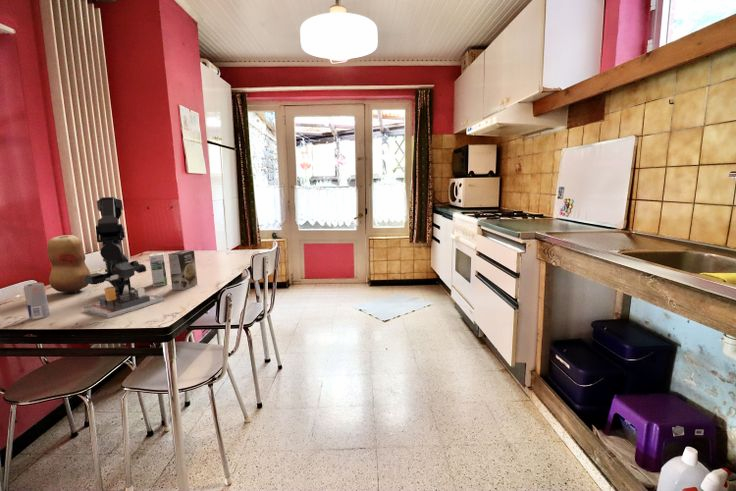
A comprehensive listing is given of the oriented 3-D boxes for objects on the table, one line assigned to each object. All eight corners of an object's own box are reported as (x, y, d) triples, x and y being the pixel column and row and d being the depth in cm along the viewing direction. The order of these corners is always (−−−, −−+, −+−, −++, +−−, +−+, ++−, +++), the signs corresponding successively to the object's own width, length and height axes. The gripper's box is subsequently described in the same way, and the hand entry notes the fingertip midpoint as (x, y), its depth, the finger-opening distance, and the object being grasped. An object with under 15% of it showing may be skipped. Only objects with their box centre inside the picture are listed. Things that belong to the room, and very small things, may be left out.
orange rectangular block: (105, 300, 130) (104, 288, 129) (113, 298, 132) (111, 286, 131) (109, 301, 129) (107, 289, 128) (116, 299, 131) (115, 287, 130)
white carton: (38, 314, 127) (31, 282, 125) (54, 313, 128) (48, 282, 125) (25, 320, 122) (18, 287, 120) (41, 319, 122) (35, 286, 120)
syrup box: (153, 286, 159) (148, 255, 157) (153, 283, 164) (149, 253, 162) (167, 284, 162) (163, 254, 159) (167, 281, 167) (164, 252, 164)
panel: (84, 311, 130) (81, 294, 129) (139, 295, 147) (137, 280, 146) (108, 318, 123) (105, 300, 121) (163, 300, 140) (161, 285, 139)
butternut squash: (51, 299, 144) (40, 239, 139) (52, 292, 154) (41, 236, 149) (94, 292, 153) (84, 235, 148) (92, 285, 163) (83, 232, 158)
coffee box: (184, 290, 153) (180, 254, 150) (171, 289, 154) (167, 253, 151) (198, 284, 162) (194, 250, 159) (186, 283, 163) (182, 249, 160)
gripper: (97, 263, 118) (105, 306, 122) (151, 251, 135) (158, 290, 138) (80, 260, 123) (88, 302, 127) (134, 249, 140) (141, 286, 143)
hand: (121, 295), depth 133 cm, fingers closed
